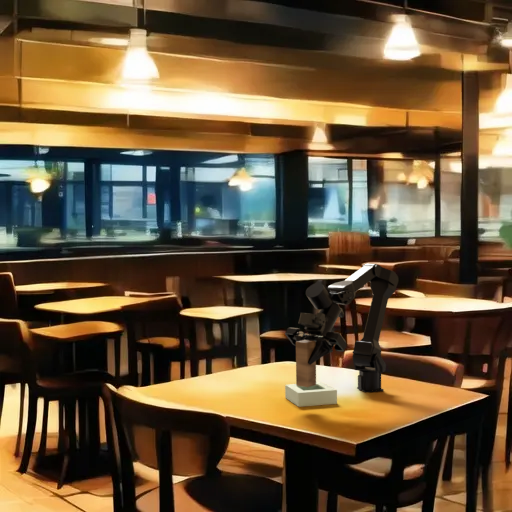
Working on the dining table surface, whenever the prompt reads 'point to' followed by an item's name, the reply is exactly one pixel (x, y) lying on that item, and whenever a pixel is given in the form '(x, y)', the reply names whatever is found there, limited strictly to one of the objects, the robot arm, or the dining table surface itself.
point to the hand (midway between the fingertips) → (302, 362)
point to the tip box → (311, 394)
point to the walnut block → (305, 364)
